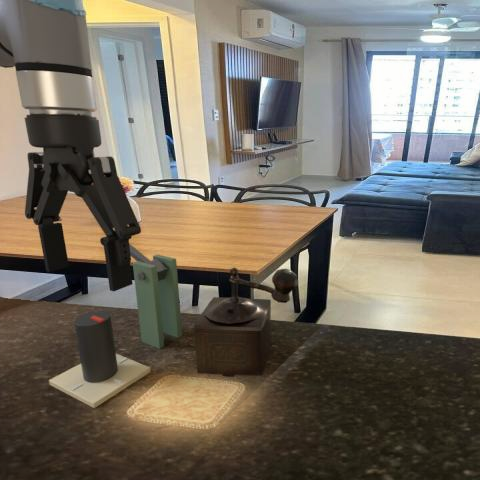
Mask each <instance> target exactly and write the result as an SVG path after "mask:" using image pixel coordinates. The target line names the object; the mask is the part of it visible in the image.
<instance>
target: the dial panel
mask: <svg viewBox="0 0 480 480" xmlns="http://www.w3.org/2000/svg"><path fill="white" fill-rule="evenodd" d="M116 359H117V367H118V371H117V373H116V374H115V375H114V376H113V377H111V378H109V379H107V380H105V381H102V382H96V383H90V382H87V381H85V380H84V378H83V372H82V366H81V363H78V364H77V365H75V366H73V367H71V368H69V369H67V370H66V371H64V372H62V373H60V374H58V375H56V376H54V377H52V378H50V379H48V384H49V386H51V387H53V388H55V389H57V390H59V391H61V392H63V393H64V394H66V395H68V396H70V397H72V398H74V399H76V400H78V401H79V402H82V403H83V404H86V405H87V406H89V407H91V408H93V409H96V408H97V407H98V406H100V405H101V404H103V403H105V402H106V401H108V400H109V399H111V398H112V397H114V396H116V395H117V394H119V393H120V392H122V391H124V390H125V389H126V388H128V387H130V386H131V385H132V384H134V383H136V382H137V381H139V380H140V379H142V378H143V377H145V376H146V375H148V374H150V373H151V371H152V370H151V367H150V366H148V365H145V364H143V363H140V362H138V361H136V360H133V359H131V358H128V357H126V356H123V355H121V354H118V353H116Z"/></svg>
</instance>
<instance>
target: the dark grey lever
mask: <svg viewBox="0 0 480 480" xmlns="http://www.w3.org/2000/svg"><path fill="white" fill-rule="evenodd" d="M105 237H107V236H106V235H105V236H103V237H101V238H99V242H100V244H101V245H102V246H103V247H104V245H103V240H104V238H105ZM132 237H133V236H131V237H130V238H129V240H131V239H132ZM129 246H130V255H131V258H133V259H134V260H135V262H136V261H139V262H143V263H147V264H151V265H155V266H157V276H158V281H161V280H163V279H165V277H166V274H167V270H168V268H167V267H166V266H165V265H164V264H163V263H161V262H160V261H159V260H158V259H155V260H153V259H152V260H150V259H149V258H148V257H147V256H145V255H144V254H143V252H141V251H140V250H138V249H137V248H136V247H134V246H133V245H132V244H131V243H129Z"/></svg>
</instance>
